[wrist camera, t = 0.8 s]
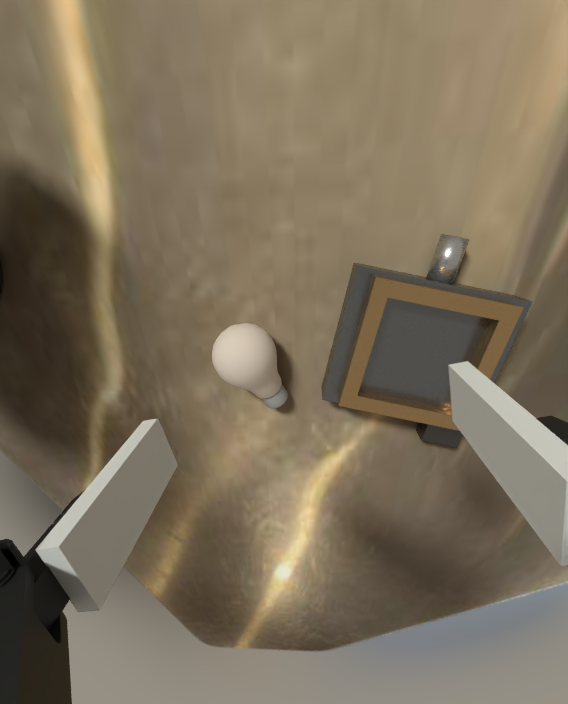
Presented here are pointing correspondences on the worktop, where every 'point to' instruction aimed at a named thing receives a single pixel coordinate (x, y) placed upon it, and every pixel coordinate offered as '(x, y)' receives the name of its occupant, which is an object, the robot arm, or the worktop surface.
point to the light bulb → (250, 362)
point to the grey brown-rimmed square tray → (417, 340)
